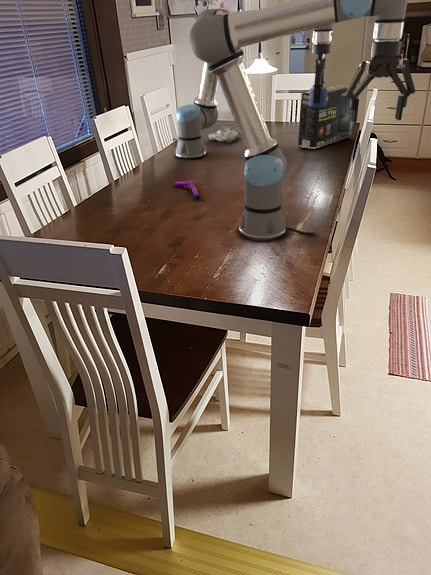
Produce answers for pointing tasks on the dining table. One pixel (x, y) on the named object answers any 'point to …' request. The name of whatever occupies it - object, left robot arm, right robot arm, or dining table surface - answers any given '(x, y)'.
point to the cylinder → (322, 97)
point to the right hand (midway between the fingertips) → (375, 120)
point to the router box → (325, 118)
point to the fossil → (225, 134)
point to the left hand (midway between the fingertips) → (317, 101)
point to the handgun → (189, 185)
